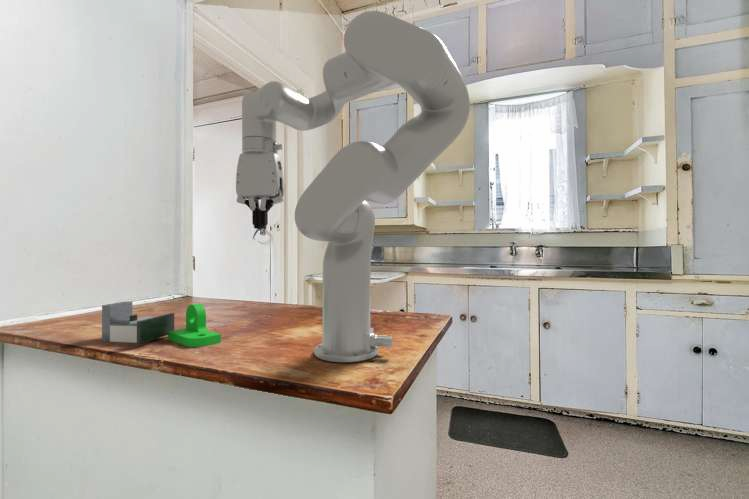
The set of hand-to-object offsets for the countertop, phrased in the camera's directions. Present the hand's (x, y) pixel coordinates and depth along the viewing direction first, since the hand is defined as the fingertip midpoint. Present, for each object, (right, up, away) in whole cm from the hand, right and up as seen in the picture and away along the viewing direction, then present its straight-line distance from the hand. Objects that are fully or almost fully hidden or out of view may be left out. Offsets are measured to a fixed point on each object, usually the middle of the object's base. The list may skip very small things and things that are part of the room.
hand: (260, 228), depth 80 cm
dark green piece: (-25, -25, -3) cm, 35 cm away
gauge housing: (-29, -25, -1) cm, 39 cm away
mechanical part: (-14, -26, -2) cm, 30 cm away
